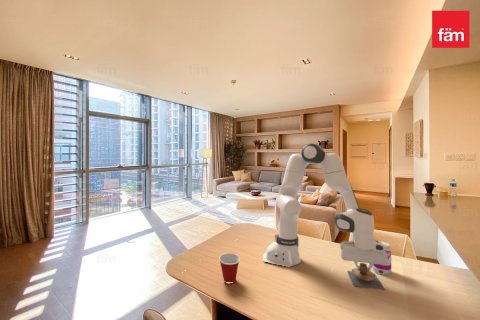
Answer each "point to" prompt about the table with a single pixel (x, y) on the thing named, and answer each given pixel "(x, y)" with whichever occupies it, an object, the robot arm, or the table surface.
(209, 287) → the table surface
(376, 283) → the mat
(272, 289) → the table surface
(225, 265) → the plastic cup
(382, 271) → the supplement can
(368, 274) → the lid
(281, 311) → the table surface
